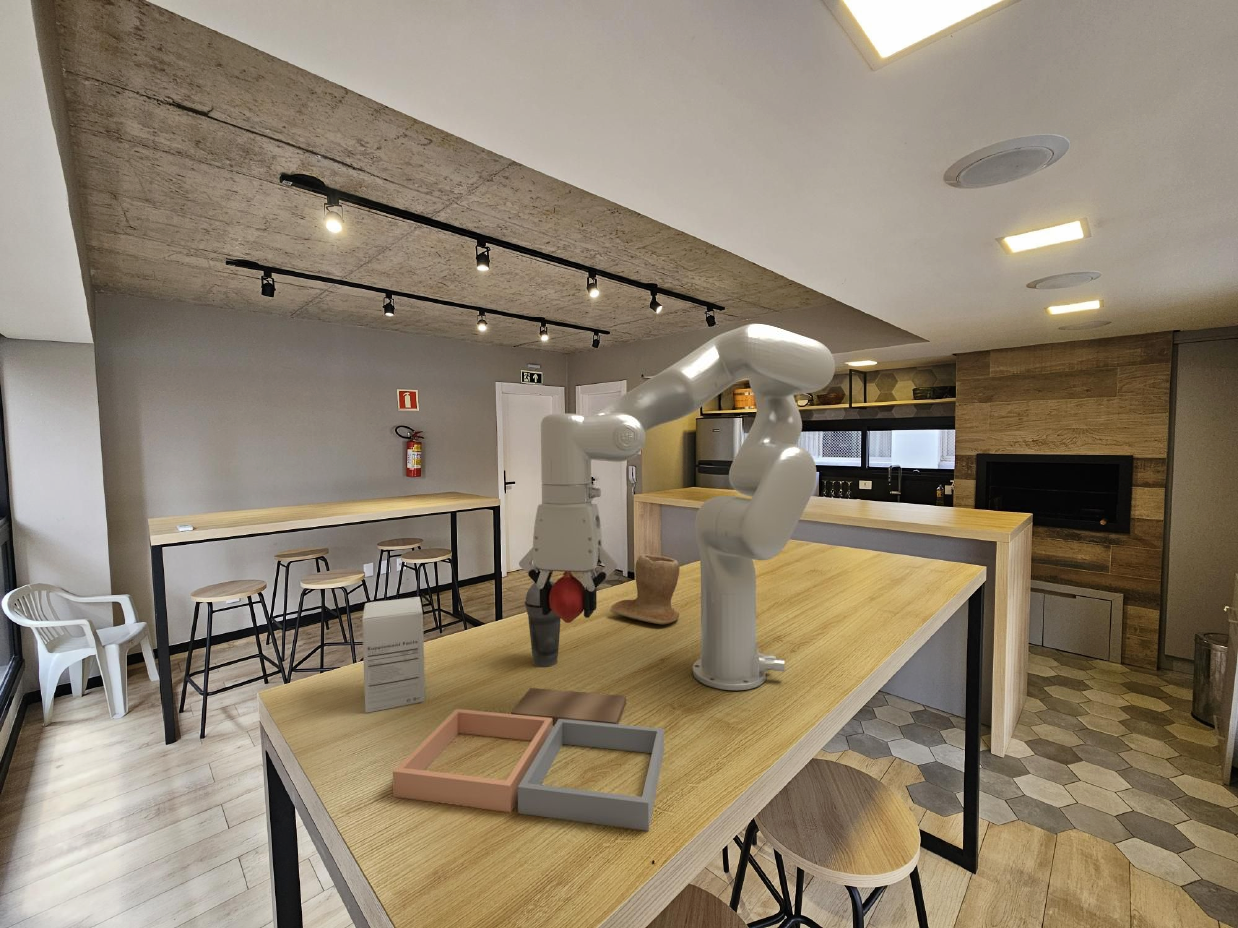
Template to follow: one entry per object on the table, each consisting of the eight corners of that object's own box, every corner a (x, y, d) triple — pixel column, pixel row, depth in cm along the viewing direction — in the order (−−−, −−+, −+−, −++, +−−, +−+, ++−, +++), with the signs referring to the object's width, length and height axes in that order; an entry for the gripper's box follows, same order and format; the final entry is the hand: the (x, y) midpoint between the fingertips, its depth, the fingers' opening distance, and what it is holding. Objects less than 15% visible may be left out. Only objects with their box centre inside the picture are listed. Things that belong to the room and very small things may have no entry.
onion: (550, 616, 82) (549, 566, 81) (586, 615, 82) (586, 565, 82) (548, 629, 76) (547, 575, 76) (587, 628, 76) (587, 574, 76)
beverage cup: (557, 671, 94) (555, 561, 93) (519, 668, 95) (517, 560, 95) (569, 655, 101) (567, 553, 100) (534, 652, 102) (532, 552, 102)
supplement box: (366, 689, 88) (363, 601, 87) (423, 679, 91) (420, 595, 91) (363, 714, 79) (360, 618, 79) (425, 702, 83) (423, 610, 82)
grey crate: (664, 750, 69) (663, 728, 69) (648, 830, 55) (648, 802, 54) (559, 739, 72) (558, 718, 72) (518, 813, 57) (517, 786, 57)
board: (626, 703, 82) (626, 695, 82) (615, 730, 74) (615, 722, 74) (530, 694, 85) (530, 687, 85) (510, 720, 77) (510, 712, 77)
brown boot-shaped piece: (690, 617, 122) (689, 554, 122) (662, 632, 113) (661, 564, 112) (638, 606, 132) (638, 547, 131) (608, 618, 122) (607, 555, 122)
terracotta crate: (552, 739, 72) (552, 717, 72) (510, 812, 58) (510, 785, 57) (456, 729, 75) (455, 708, 75) (393, 796, 60) (392, 771, 60)
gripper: (627, 494, 80) (628, 609, 81) (522, 493, 84) (524, 603, 84) (617, 498, 73) (618, 625, 74) (503, 497, 76) (505, 618, 77)
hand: (568, 612), depth 79 cm, fingers closed on onion, 5 cm apart
